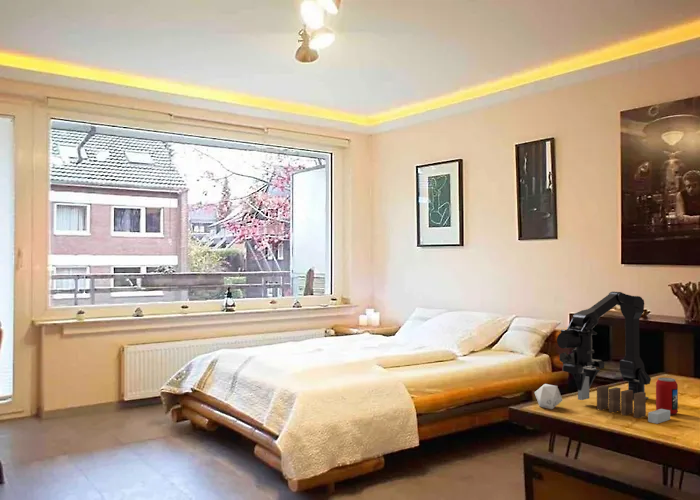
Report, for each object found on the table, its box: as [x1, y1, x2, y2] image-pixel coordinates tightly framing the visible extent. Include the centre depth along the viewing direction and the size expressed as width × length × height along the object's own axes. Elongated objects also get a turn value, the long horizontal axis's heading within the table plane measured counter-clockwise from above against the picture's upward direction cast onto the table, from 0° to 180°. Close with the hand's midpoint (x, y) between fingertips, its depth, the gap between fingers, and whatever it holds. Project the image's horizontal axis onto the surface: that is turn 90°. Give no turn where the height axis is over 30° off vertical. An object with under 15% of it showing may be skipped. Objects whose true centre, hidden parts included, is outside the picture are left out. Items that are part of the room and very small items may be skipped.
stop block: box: [647, 409, 671, 425], centre depth 203 cm, size 9×3×3 cm, turn 128°
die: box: [533, 383, 563, 410], centre depth 221 cm, size 8×9×10 cm
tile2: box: [608, 386, 621, 413], centre depth 216 cm, size 2×5×8 cm, turn 128°
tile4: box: [633, 392, 647, 419], centre depth 209 cm, size 2×5×8 cm, turn 128°
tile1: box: [596, 385, 610, 411], centre depth 219 cm, size 2×5×8 cm, turn 128°
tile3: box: [620, 389, 634, 416], centre depth 212 cm, size 2×5×8 cm, turn 128°
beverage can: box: [655, 377, 679, 416], centre depth 213 cm, size 7×7×12 cm
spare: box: [577, 376, 590, 401], centre depth 225 cm, size 2×5×8 cm, turn 128°
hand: (583, 389), depth 225 cm, fingers closed on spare, 5 cm apart
